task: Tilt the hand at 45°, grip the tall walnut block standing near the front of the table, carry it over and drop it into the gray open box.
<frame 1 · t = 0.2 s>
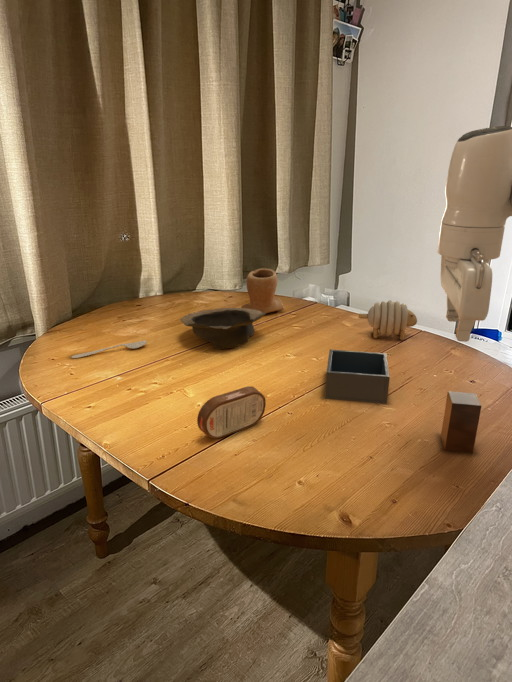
hand: (456, 329, 80), 26 cm above the table, tool pointing down, fingers open, 8 cm apart
toy sheep: (386, 336, 150), on the table
terracotta vase: (264, 312, 172), on the table
tin: (233, 431, 100), on the table
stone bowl: (222, 338, 149), on the table
spoon: (110, 352, 139), on the table
block: (456, 444, 95), on the table
gray open box: (355, 387, 118), on the table
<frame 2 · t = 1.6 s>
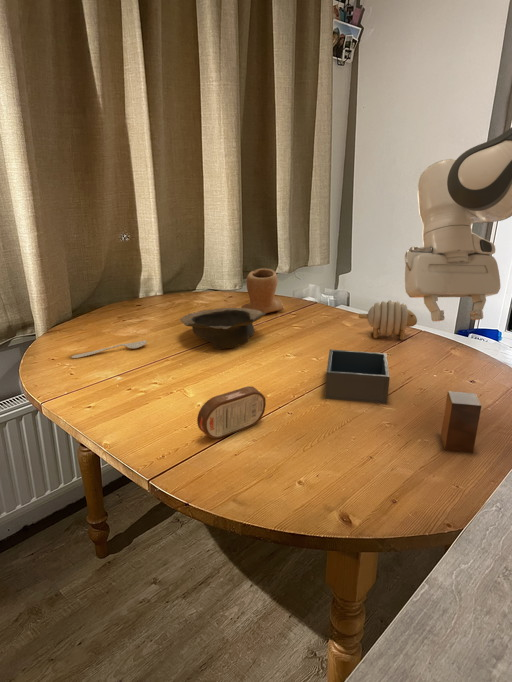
hand: (458, 320, 93), 23 cm above the table, tool tilted 30°, fingers open, 8 cm apart
nothing on the table moved.
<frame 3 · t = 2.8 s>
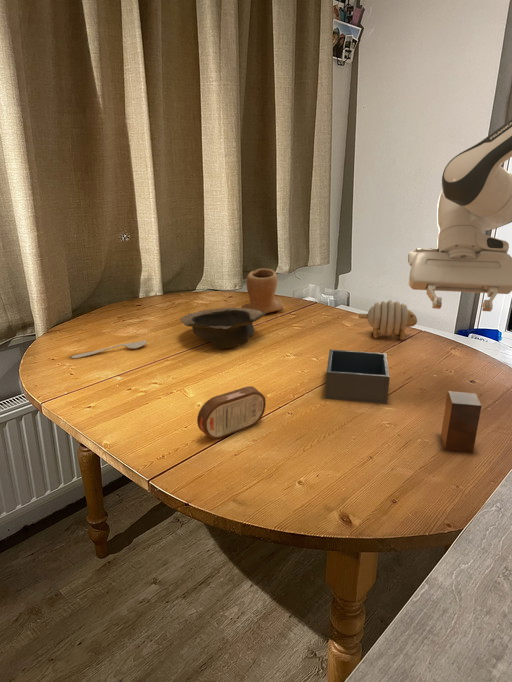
hand: (462, 308, 98), 23 cm above the table, tool tilted 45°, fingers open, 8 cm apart
nothing on the table moved.
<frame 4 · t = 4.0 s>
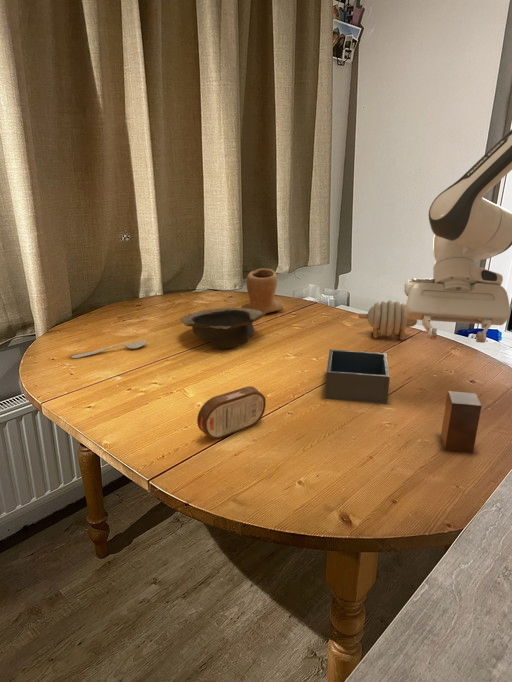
hand: (456, 339, 101), 17 cm above the table, tool tilted 45°, fingers open, 8 cm apart
nothing on the table moved.
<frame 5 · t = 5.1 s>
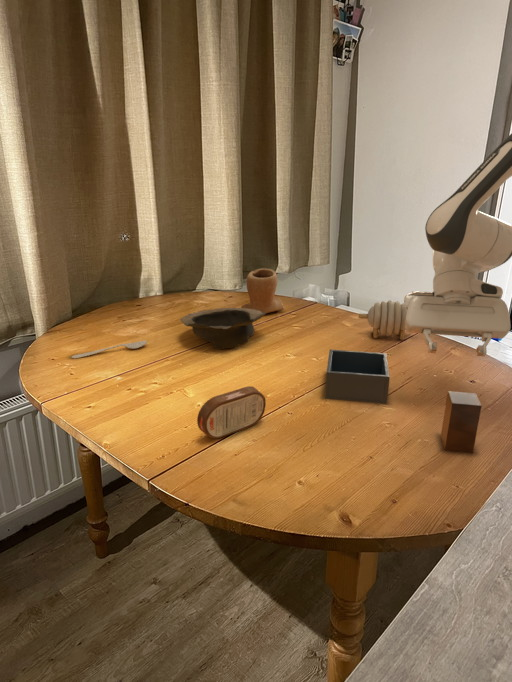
hand: (456, 353, 100), 14 cm above the table, tool tilted 45°, fingers open, 8 cm apart
nothing on the table moved.
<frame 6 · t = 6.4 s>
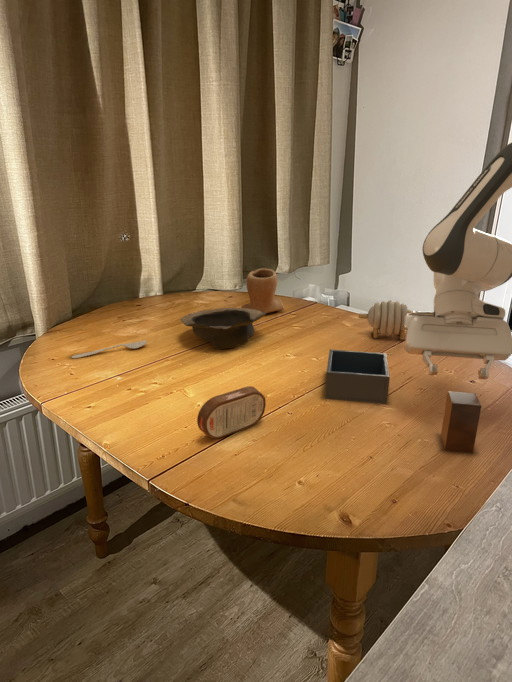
hand: (457, 376, 98), 11 cm above the table, tool tilted 45°, fingers open, 8 cm apart
nothing on the table moved.
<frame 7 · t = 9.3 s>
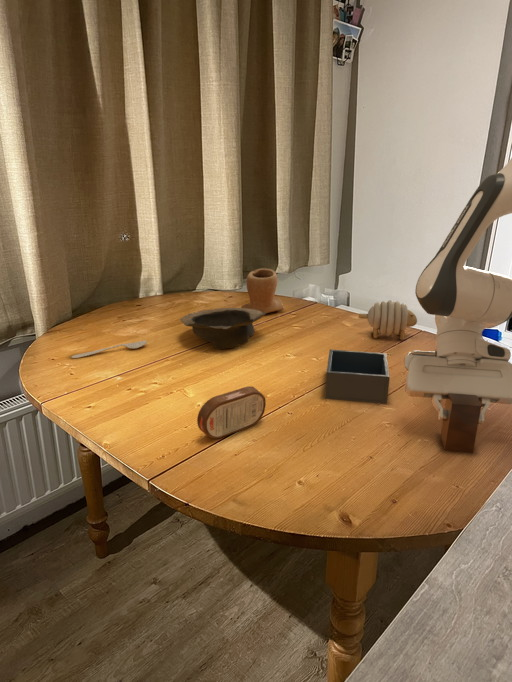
hand: (461, 421, 93), 5 cm above the table, tool tilted 45°, fingers closed on block, 5 cm apart
block: (456, 444, 95), on the table, touching gripper
everything else where it was.
when the fingers open (9 cm above the table, at t = 19.9 s): block drops 3 cm, resting on gray open box.
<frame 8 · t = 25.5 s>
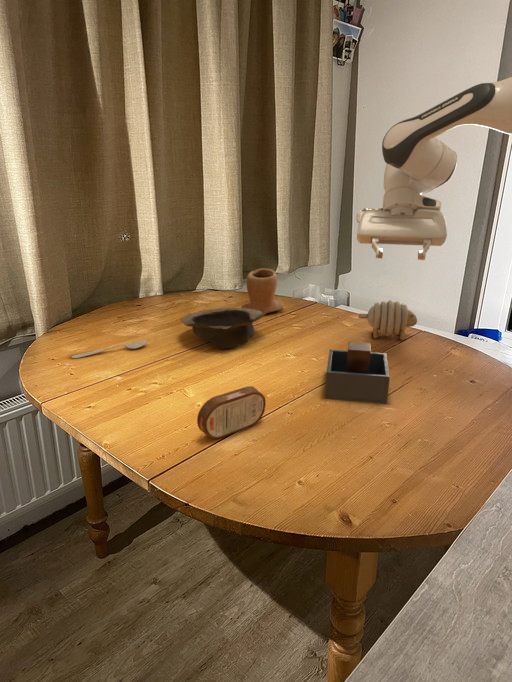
hand: (400, 257, 115), 29 cm above the table, tool tilted 45°, fingers open, 8 cm apart
block: (356, 385, 118), point 1 cm above the table, touching gray open box
everything else where it was.
at the end: block inside the target area in the gray open box (0.1 cm from its centre), point 0.6 cm above the gray open box's base; the gripper is holding nothing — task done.
